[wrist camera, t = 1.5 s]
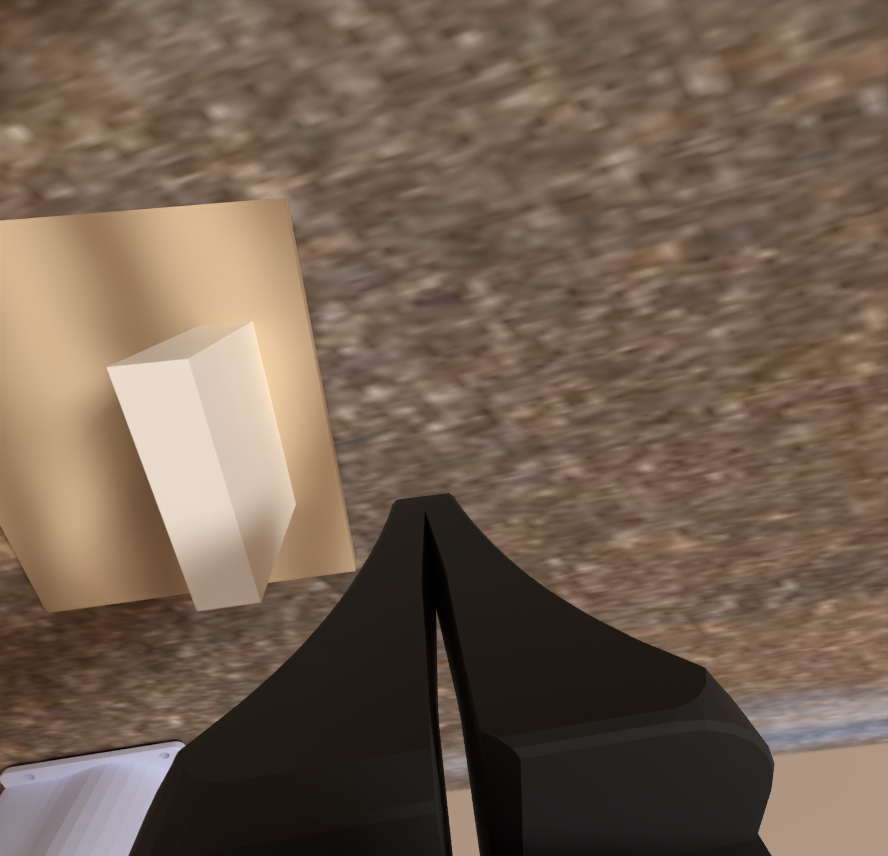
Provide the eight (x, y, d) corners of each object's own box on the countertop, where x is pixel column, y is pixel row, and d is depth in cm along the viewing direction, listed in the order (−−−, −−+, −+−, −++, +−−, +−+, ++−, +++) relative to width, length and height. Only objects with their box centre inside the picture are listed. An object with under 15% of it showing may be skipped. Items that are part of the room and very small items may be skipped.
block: (248, 510, 20) (195, 611, 15) (196, 326, 17) (104, 367, 12) (295, 504, 20) (260, 602, 15) (252, 321, 17) (188, 358, 12)
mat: (55, 603, 22) (46, 613, 21) (-136, 233, 16) (-156, 233, 15) (356, 562, 23) (355, 570, 22) (287, 199, 16) (284, 198, 16)
